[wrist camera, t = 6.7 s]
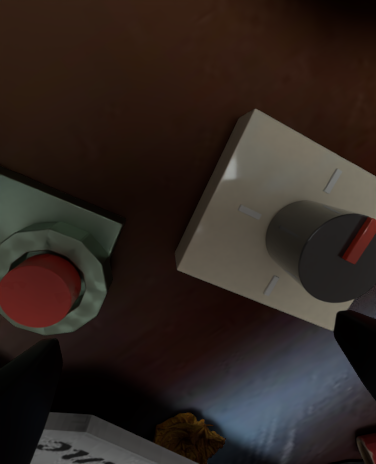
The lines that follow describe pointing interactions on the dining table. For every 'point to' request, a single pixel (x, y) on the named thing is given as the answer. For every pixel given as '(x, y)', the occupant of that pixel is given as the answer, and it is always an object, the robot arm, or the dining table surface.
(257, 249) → the panel
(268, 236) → the stove knob
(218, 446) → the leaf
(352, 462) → the lantern
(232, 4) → the dining table surface
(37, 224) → the button box
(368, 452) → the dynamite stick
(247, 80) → the dining table surface
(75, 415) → the sign
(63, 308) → the red button
